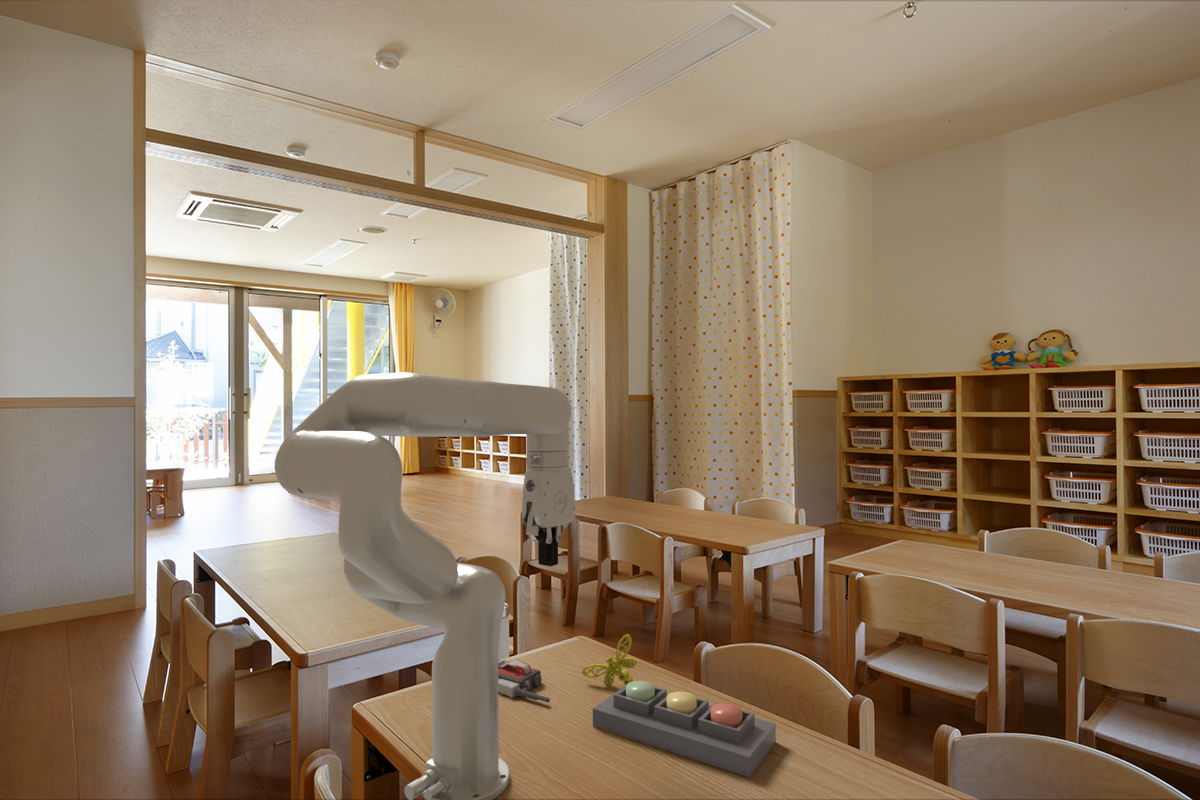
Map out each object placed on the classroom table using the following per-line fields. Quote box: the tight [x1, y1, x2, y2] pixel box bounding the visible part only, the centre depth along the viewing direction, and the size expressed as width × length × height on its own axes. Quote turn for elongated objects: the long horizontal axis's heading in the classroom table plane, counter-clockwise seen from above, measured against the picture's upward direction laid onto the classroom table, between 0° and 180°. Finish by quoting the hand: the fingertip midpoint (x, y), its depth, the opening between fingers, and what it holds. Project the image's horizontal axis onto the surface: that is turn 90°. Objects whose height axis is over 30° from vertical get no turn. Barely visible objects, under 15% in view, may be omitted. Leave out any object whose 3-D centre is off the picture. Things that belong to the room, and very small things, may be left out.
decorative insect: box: [582, 633, 640, 688], centre depth 125 cm, size 13×3×10 cm
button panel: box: [592, 685, 777, 778], centre depth 106 cm, size 12×28×5 cm, turn 56°
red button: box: [711, 702, 743, 728], centre depth 102 cm, size 5×5×2 cm
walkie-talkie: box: [498, 658, 551, 703], centre depth 125 cm, size 9×4×20 cm
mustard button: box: [667, 691, 698, 715], centre depth 106 cm, size 5×5×2 cm
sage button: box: [625, 680, 656, 702], centre depth 111 cm, size 5×5×2 cm
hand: (548, 564), depth 112 cm, fingers closed
